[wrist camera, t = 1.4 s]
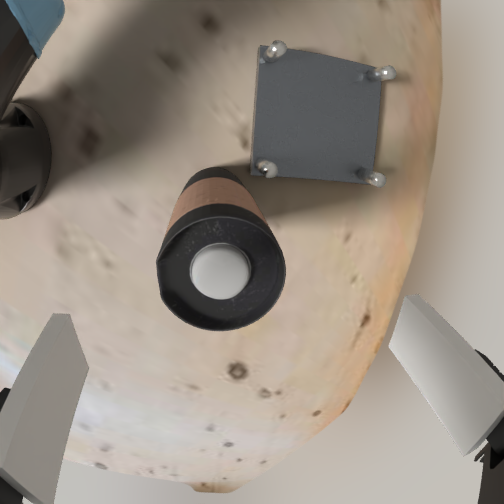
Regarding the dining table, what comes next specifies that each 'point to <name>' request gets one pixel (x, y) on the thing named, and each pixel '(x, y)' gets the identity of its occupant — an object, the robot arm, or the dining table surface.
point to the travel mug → (219, 255)
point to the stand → (315, 116)
